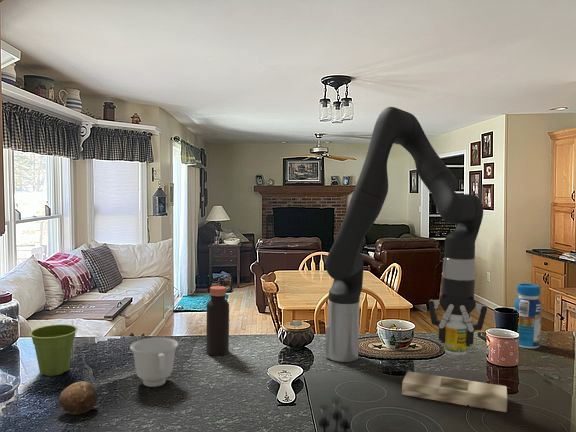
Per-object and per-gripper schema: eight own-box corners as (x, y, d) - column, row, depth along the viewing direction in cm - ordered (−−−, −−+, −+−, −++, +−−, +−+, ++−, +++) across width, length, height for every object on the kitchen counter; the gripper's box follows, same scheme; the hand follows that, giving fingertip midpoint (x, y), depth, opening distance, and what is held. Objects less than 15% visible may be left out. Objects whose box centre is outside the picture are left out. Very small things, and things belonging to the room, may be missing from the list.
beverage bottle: (506, 341, 172) (509, 282, 171) (530, 340, 173) (533, 282, 172) (520, 349, 164) (524, 288, 163) (545, 349, 165) (548, 287, 164)
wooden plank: (401, 394, 127) (402, 381, 127) (407, 382, 135) (407, 371, 135) (506, 412, 119) (507, 398, 118) (505, 398, 126) (506, 386, 126)
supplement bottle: (453, 346, 130) (455, 309, 129) (471, 353, 125) (473, 314, 125) (439, 350, 127) (440, 312, 126) (457, 356, 122) (458, 317, 122)
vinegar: (233, 351, 157) (234, 287, 156) (218, 357, 151) (219, 290, 150) (216, 347, 161) (216, 284, 159) (201, 353, 155) (202, 287, 154)
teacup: (137, 399, 122) (137, 358, 121) (126, 378, 135) (126, 340, 134) (187, 391, 127) (187, 351, 126) (171, 370, 140) (171, 335, 140)
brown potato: (68, 386, 121) (72, 370, 117) (100, 398, 122) (105, 383, 118) (50, 415, 114) (54, 399, 111) (84, 427, 115) (89, 412, 111)
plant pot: (22, 371, 138) (22, 330, 137) (66, 360, 147) (66, 321, 146) (40, 383, 130) (39, 340, 129) (85, 371, 139) (85, 330, 138)
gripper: (426, 276, 124) (423, 344, 125) (490, 281, 119) (486, 352, 120) (429, 271, 131) (427, 336, 132) (490, 276, 126) (487, 343, 127)
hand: (455, 343), depth 126 cm, fingers closed on supplement bottle, 5 cm apart
